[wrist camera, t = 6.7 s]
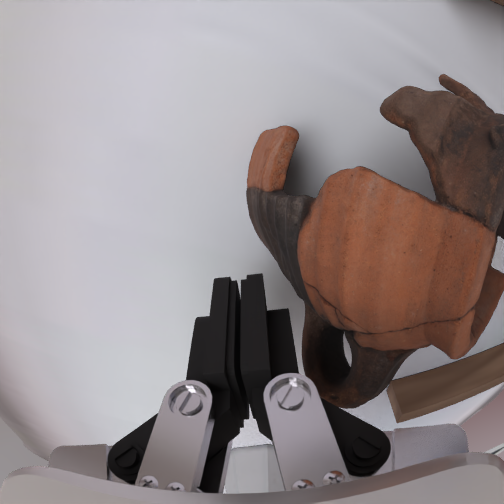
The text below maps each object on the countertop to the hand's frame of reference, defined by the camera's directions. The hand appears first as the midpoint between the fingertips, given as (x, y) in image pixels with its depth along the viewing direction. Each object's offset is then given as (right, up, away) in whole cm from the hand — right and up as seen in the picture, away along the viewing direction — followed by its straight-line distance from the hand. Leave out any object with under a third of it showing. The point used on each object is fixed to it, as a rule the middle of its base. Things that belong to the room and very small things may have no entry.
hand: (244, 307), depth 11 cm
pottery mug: (+5, +4, +1) cm, 6 cm away
